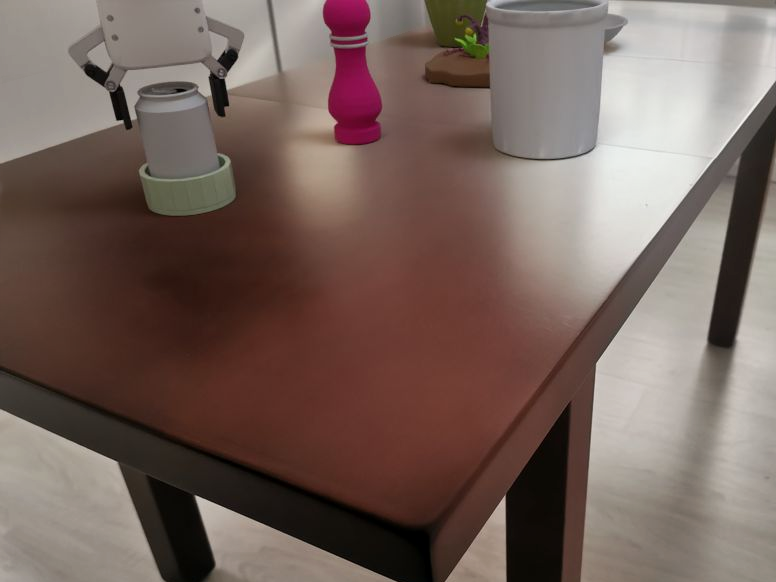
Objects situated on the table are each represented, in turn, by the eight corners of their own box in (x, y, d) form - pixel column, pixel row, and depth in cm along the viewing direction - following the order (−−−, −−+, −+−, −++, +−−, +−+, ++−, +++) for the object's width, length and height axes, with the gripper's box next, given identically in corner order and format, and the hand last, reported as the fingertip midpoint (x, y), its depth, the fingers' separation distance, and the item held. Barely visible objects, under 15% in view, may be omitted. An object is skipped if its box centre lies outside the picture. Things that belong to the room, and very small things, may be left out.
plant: (521, 92, 128) (522, 17, 122) (410, 83, 135) (406, 12, 129) (557, 64, 144) (559, -3, 138) (456, 58, 150) (454, -7, 145)
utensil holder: (464, 148, 105) (461, 4, 96) (527, 120, 115) (529, -13, 106) (560, 169, 98) (567, 15, 88) (619, 138, 108) (631, -4, 98)
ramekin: (152, 222, 86) (143, 186, 84) (143, 192, 94) (134, 159, 92) (244, 206, 90) (237, 171, 88) (227, 178, 97) (221, 146, 95)
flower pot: (436, 34, 170) (433, -50, 161) (503, 38, 165) (504, -49, 157) (408, 49, 158) (403, -41, 149) (480, 53, 154) (479, -40, 145)
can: (233, 196, 91) (213, 87, 84) (167, 211, 87) (141, 99, 81) (211, 178, 96) (191, 74, 90) (147, 191, 93) (121, 85, 86)
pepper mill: (336, 130, 113) (319, -26, 103) (387, 129, 113) (376, -27, 103) (327, 146, 107) (308, -18, 97) (381, 145, 107) (368, -19, 96)
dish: (617, 60, 146) (619, 31, 144) (540, 56, 150) (541, 28, 148) (632, 40, 160) (634, 13, 158) (561, 37, 164) (562, 11, 162)
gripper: (221, -65, 84) (248, 101, 93) (40, -54, 78) (87, 122, 87) (235, -59, 78) (262, 118, 87) (40, -47, 72) (91, 141, 81)
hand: (175, 120), depth 87 cm, fingers open, 9 cm apart
